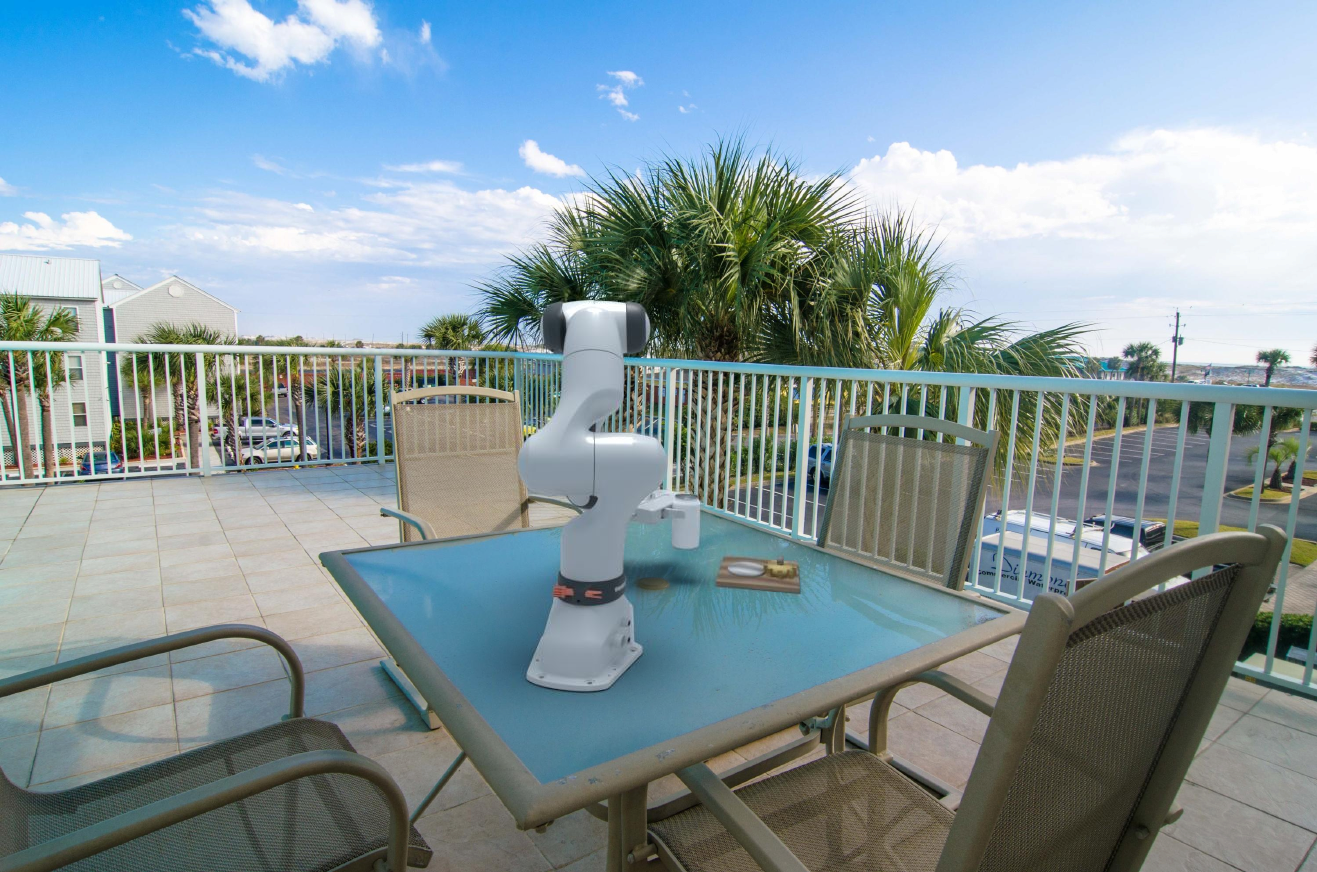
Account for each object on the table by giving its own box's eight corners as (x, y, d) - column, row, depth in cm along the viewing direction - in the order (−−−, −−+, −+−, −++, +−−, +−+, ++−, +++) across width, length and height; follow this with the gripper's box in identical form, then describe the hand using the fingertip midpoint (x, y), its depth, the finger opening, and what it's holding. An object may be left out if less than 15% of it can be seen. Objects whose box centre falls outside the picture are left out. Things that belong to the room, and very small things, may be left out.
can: (701, 543, 154) (702, 494, 152) (696, 551, 147) (698, 499, 146) (674, 541, 155) (676, 492, 154) (668, 548, 149) (670, 497, 148)
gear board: (799, 593, 146) (800, 569, 145) (715, 585, 149) (716, 562, 149) (797, 566, 165) (798, 545, 165) (723, 560, 169) (724, 539, 168)
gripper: (617, 499, 147) (673, 506, 141) (657, 485, 165) (707, 491, 159) (617, 526, 147) (672, 535, 141) (656, 509, 166) (706, 516, 160)
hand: (691, 511), depth 150 cm, fingers closed on can, 5 cm apart
